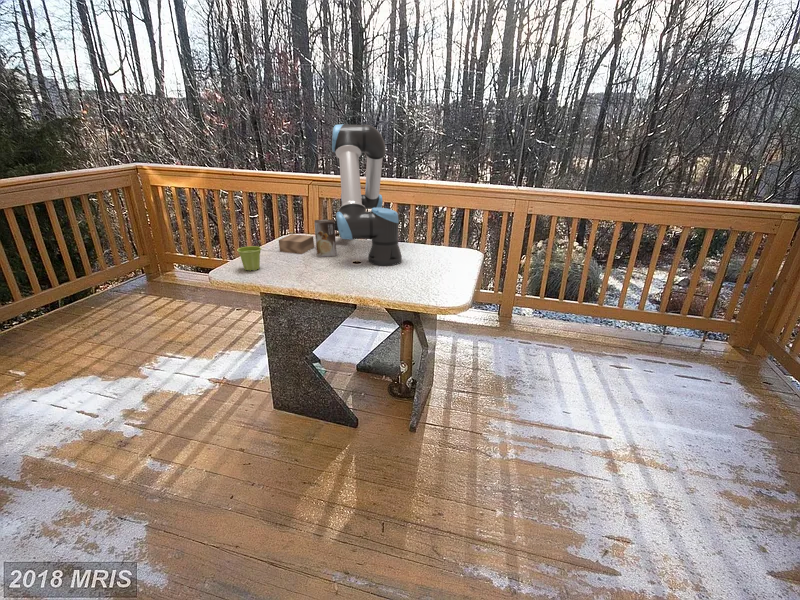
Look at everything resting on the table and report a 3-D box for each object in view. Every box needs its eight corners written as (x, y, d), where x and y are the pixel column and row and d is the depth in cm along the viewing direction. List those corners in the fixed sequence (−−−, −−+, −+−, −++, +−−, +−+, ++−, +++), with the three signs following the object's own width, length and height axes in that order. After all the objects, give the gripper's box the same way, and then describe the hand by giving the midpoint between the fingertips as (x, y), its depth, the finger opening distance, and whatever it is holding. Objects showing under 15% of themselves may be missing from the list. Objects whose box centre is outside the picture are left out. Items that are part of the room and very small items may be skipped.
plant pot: (236, 268, 165) (233, 248, 162) (257, 264, 171) (255, 244, 168) (245, 274, 159) (242, 253, 156) (267, 269, 165) (265, 249, 162)
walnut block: (314, 248, 197) (313, 236, 195) (302, 254, 186) (301, 242, 184) (292, 245, 200) (291, 234, 198) (279, 252, 190) (278, 240, 187)
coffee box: (336, 252, 190) (334, 219, 183) (336, 256, 184) (334, 222, 177) (317, 253, 188) (314, 219, 182) (316, 256, 182) (314, 222, 176)
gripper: (366, 232, 206) (354, 242, 187) (321, 229, 210) (305, 239, 191) (366, 218, 203) (354, 226, 184) (320, 215, 207) (303, 224, 188)
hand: (329, 233), depth 188 cm, fingers open, 13 cm apart
